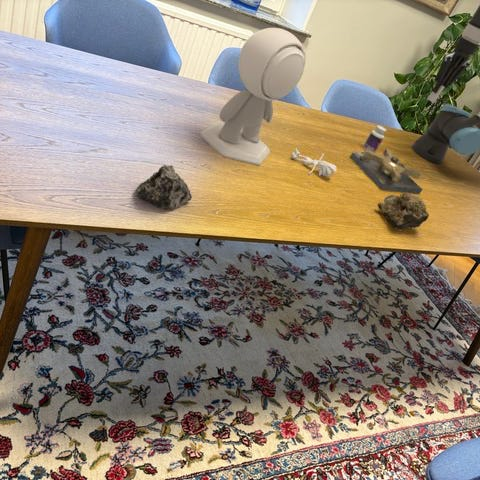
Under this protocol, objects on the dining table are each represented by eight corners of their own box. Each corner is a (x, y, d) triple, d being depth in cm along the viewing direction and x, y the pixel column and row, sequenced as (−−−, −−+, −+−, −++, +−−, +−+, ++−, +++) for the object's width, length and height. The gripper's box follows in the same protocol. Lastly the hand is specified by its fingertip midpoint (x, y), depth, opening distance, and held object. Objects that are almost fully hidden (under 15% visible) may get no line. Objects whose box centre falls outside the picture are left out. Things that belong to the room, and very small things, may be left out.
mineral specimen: (365, 203, 139) (382, 177, 134) (393, 206, 146) (411, 181, 140) (392, 234, 130) (411, 207, 124) (421, 236, 136) (441, 210, 131)
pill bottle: (375, 154, 178) (388, 133, 172) (362, 149, 177) (375, 127, 172) (374, 149, 182) (387, 128, 176) (362, 144, 182) (375, 122, 176)
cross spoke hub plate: (387, 162, 175) (391, 155, 174) (419, 193, 163) (425, 186, 161) (349, 157, 165) (354, 149, 163) (381, 189, 152) (386, 181, 150)
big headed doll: (234, 168, 125) (287, 43, 105) (188, 124, 136) (228, 4, 116) (281, 163, 139) (335, 52, 119) (235, 124, 149) (278, 16, 130)
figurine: (302, 138, 147) (345, 156, 143) (299, 150, 151) (341, 168, 147) (286, 159, 140) (330, 179, 136) (283, 171, 144) (326, 191, 140)
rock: (158, 228, 95) (195, 199, 94) (128, 191, 93) (165, 161, 92) (166, 217, 108) (199, 192, 107) (139, 184, 106) (173, 159, 105)
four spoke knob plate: (358, 145, 170) (364, 134, 167) (409, 167, 173) (416, 157, 170) (364, 171, 152) (371, 159, 149) (421, 195, 155) (429, 184, 152)
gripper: (473, 40, 166) (435, 99, 180) (451, 31, 160) (413, 93, 173) (488, 48, 162) (447, 108, 175) (466, 39, 155) (426, 102, 168)
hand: (430, 100), depth 174 cm, fingers closed
